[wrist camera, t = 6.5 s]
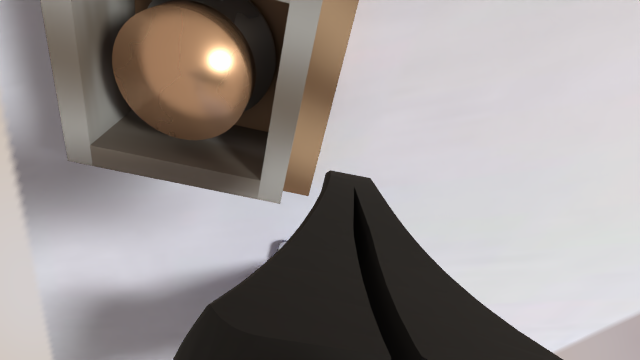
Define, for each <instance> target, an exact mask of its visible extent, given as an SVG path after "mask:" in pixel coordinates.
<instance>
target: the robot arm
mask: <svg viewBox="0 0 640 360" xmlns="http://www.w3.org/2000/svg"><path fill="white" fill-rule="evenodd" d="M173 360H563V359H561V358H559V357H558V356H557V355H555V354H553V353H552V352H550V351H549V350H547V349H546V348H544V347H543V346H541V345H540V344H538V343H536V342H535V341H533V340H532V339H530V338H529V337H527V336H526V335H524V334H523V333H521V332H519V331H518V330H517V329H515V328H514V327H512V326H511V325H510V324H508V323H507V322H506V321H504V320H503V319H501V318H500V317H499V316H497V315H496V314H495V313H493V312H492V311H491V310H489V309H488V308H487V307H485V306H484V305H483V304H482V303H480V302H479V301H478V300H477V299H475V298H474V297H473V296H472V295H471V294H469V293H468V292H467V291H466V290H465V289H464V288H463V287H461V286H460V285H459V284H458V283H457V282H456V281H454V280H453V279H452V278H451V277H450V276H449V275H448V274H447V273H446V272H445V271H444V270H443V269H442V268H441V267H440V266H439V265H438V264H437V263H436V262H435V261H434V260H433V259H432V258H431V257H430V256H429V255H428V254H427V253H426V252H425V251H424V250H423V249H422V248H421V246H420V245H419V244H418V243H417V242H416V241H415V239H414V238H413V237H412V236H411V235H410V233H409V232H408V231H407V230H406V228H405V227H404V226H403V225H402V223H401V222H400V221H399V219H398V218H397V217H396V215H395V214H394V212H393V211H392V210H391V208H390V207H389V205H388V204H387V202H386V201H385V199H384V198H383V196H382V195H381V193H380V192H379V190H378V189H377V187H376V186H375V184H374V183H373V181H372V180H371V179H370V178H366V177H361V176H356V175H351V174H346V173H341V172H335V171H329V172H327V173H326V175H325V179H324V183H323V187H322V191H321V193H320V195H319V197H318V199H317V201H316V203H315V204H314V206H313V208H312V209H311V211H310V212H309V214H308V215H307V217H306V218H305V220H304V221H303V223H302V224H301V225H300V227H299V228H298V229H297V230H296V232H295V233H294V234H293V235H292V236H291V238H290V239H289V240H288V241H287V242H282V243H280V245H279V248H278V251H277V252H276V253H275V254H274V255H273V256H272V257H271V258H270V259H269V260H268V261H267V262H266V263H265V264H264V265H262V266H261V267H260V268H259V269H257V270H256V271H255V272H254V273H253V274H251V275H250V276H249V277H248V278H246V279H245V280H244V281H243V282H241V283H240V284H239V285H237V286H236V287H234V288H233V289H231V290H230V291H228V292H227V293H225V294H224V295H222V296H221V297H219V298H218V299H216V300H215V301H213V302H212V303H210V304H209V305H208V306H207V307H206V308H205V310H204V311H203V312H202V314H201V315H200V317H199V318H198V319H197V321H196V322H195V324H194V325H193V327H192V328H191V330H190V331H189V333H188V334H187V336H186V337H185V339H184V340H183V342H182V344H181V346H180V347H179V349H178V351H177V353H176V355H175V357H174V359H173Z"/></svg>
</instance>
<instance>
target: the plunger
mask: <svg viewBox="0 0 640 360" xmlns="http://www.w3.org/2000/svg"><path fill="white" fill-rule="evenodd" d="M112 66H113V72H114V76H115V80H116V83H117V85H118V88H119V90H120V92H121V94H122V96H123V97H124V99H125V100H126V102H127V103H128V105H129V106H130V107H131V109H132V110H133V111H134V112H135V113H136V114H137V115H138V116H139V117H140V118H141V119H142V120H144V121H145V122H146V123H147V124H149V125H150V126H152V127H153V128H155V129H156V130H158V131H160V132H162V133H164V134H167V135H170V136H172V137H176V138H180V139H186V140H205V139H209V138H213V137H216V136H219V135H221V134H222V133H224V132H226V131H227V130H229V129H230V128H231V127H232V126H233V125H234V124H235V123H236V122H237V121H238V120H239V118H240V117H241V115H242V113H243V112H244V111H246V110H248V109H250V108H251V107H253V106H254V105H255V104H257V103H258V102H259V101H260V100H261V99H262V97H263V96H264V95H265V93H266V92H267V90H268V88H269V86H270V84H271V82H272V79H273V76H274V72H275V66H276V50H275V44H274V40H273V36H272V33H271V31H270V28H269V26H268V24H267V22H266V20H265V19H264V17H263V15H262V14H261V12H260V11H259V10H258V8H257V7H256V6H255V5H254V4H253V3H252V2H251V1H250V0H152V2H151V3H150V4H149V6H148V8H147V9H145V10H143V11H141V12H139V13H137V14H135V15H134V16H133V17H131V18H130V19H129V20H128V21H127V22H126V23H125V24H124V25H123V26H122V28H121V29H120V31H119V33H118V35H117V37H116V39H115V42H114V46H113V52H112Z"/></svg>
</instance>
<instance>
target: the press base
mask: <svg viewBox="0 0 640 360" xmlns="http://www.w3.org/2000/svg"><path fill="white" fill-rule="evenodd" d="M250 1H251V2H252V3H253V4H254V5H255V6H256V7H257V8H258V10H259V11H260V12H261V14H262V15H263V17H264V19H265V20H266V22H267V24H268V26H269V28H270V31H271V33H272V36H273V40H274V44H275V50H276V66H275V72H274V76H273V79H272V82H271V84H270V86H269V88H268V90H267V92H266V93H265V95H264V96H263V97H262V99H261V100H260V101H259V102H258V103H257V104H255V105H254V106H253V107H251V108H250V109H248V110H246V111H244V112H243V113H242V115H241V117H240V118H239V120H238V121H237V122H236V123H235V124H234V125H233V126H232V127H231V128H230V129H229V130H227V131H226V132H224V133H222V134H221V135H219V136H216V137H213V138H209V139H205V140H186V139H180V138H176V137H172V136H170V135H167V134H164V133H162V132H160V131H158V130H156V129H155V128H153V127H152V126H150V125H149V124H147V123H146V122H145V121H144V120H142V119H141V118H140V117H139V116H138V115H137V114H136V113H135V112H134V111H133V110H132V109H131V107H130V106H129V105H128V103H127V102H126V100H125V99H124V97H123V96H122V94H121V92H120V90H119V88H118V85H117V83H116V80H115V76H114V72H113V66H112V52H113V46H114V42H115V39H116V37H117V35H118V33H119V31H120V29H121V28H122V26H123V25H124V24H125V23H126V22H127V21H128V20H129V19H130V18H131V17H133V16H134V15H135V14H137V13H139V12H141V11H143V10H145V9H147V8H148V6H149V4H150V3H151V2H152V0H40V2H41V8H42V14H43V20H44V26H45V31H46V37H47V43H48V49H49V54H50V60H51V66H52V72H53V77H54V83H55V89H56V95H57V101H58V106H59V112H60V118H61V124H62V129H63V135H64V141H65V147H66V153H67V158H68V161H71V162H76V163H81V164H86V165H91V166H96V167H101V168H106V169H111V170H116V171H121V172H125V173H130V174H135V175H140V176H145V177H150V178H155V179H160V180H165V181H170V182H175V183H180V184H185V185H190V186H195V187H200V188H204V189H209V190H214V191H219V192H224V193H229V194H234V195H239V196H244V197H249V198H254V199H259V200H264V201H269V202H274V203H279V204H280V201H281V197H282V192H283V191H286V192H291V193H296V194H301V195H306V196H308V195H309V192H310V188H311V184H312V180H313V176H314V172H315V168H316V164H317V161H318V157H319V153H320V149H321V145H322V141H323V137H324V133H325V129H326V126H327V122H328V118H329V114H330V110H331V106H332V102H333V98H334V95H335V91H336V87H337V83H338V79H339V75H340V71H341V67H342V64H343V60H344V56H345V52H346V48H347V44H348V40H349V36H350V33H351V29H352V25H353V21H354V17H355V13H356V9H357V5H358V1H359V0H250Z"/></svg>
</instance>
